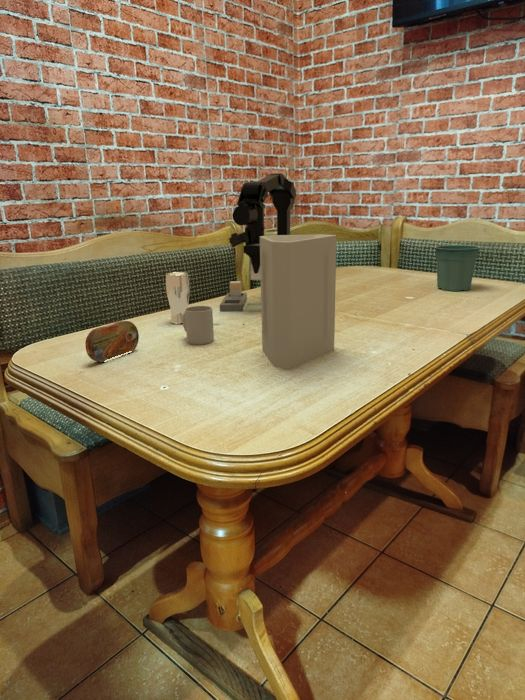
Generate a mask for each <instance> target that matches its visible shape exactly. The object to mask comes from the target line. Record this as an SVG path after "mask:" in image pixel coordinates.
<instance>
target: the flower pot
mask: <svg viewBox="0 0 525 700" xmlns="http://www.w3.org/2000/svg"><path fill="white" fill-rule="evenodd" d="M434 249H435V259H436V282H437V283H436V286H437V287H438V288H441V289H440V290H441V291H442V290H443V291H447V290H449V291H448V292H461V291H469V290H470V289H471V287H472V282H473V277H474V271H475V268H476V267H475V266H476V260H477V258H478V254H479V250H480V249H481V246H478V245H470V244H469V245H468V244H466V245H465V244H444V245H437V246H434ZM438 288H437V289H438Z"/></svg>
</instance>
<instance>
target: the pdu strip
mask: <svg viewBox="0 0 525 700" xmlns="http://www.w3.org/2000/svg"><path fill="white" fill-rule="evenodd" d="M247 299H248V293H247V292H242V281H239V280H235V281H232V280H231V281H230V282H229V292H227V293H226V294H225V296H224V298H223V299H222V301H221V302H220V304H219V312H222V313H224V312H228V313H229V312H230V313H231V312H232V313H233V312H237V313H238V312H239V313H240V312H243V307H244V305H245V303H247V302H246V301H247Z"/></svg>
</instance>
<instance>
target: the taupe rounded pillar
mask: <svg viewBox="0 0 525 700" xmlns="http://www.w3.org/2000/svg"><path fill="white" fill-rule="evenodd" d="M337 237H338V236H337V235H336V234H323V233H321V234H319V233H318V234H290V235H277V234H276V235H272V234H271V235H264V236H260V272H261V279H260V303H261V311H260V312H261V342H262V343H261V347H262V349H261V351H262V352H263V354H264V355H265V356H266V357H267V359H268V361H269V362H270V364H271V365H272V366H273V367H275V368H277V369H282V370H285V371H292V370H294V369H296V368H299V367H302V366H303V365H305V364H307V363H310V362H312V361H314V360H316V359H318V358H321V357H322V356H324V355H327V354H329V353H331V352H333V351H335V328H336V326H335V324H336V323H335V322H336V284H337V283H336V282H337V281H336V279H337V277H336V276H337V271H336V270H337Z"/></svg>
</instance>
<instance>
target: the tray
mask: <svg viewBox="0 0 525 700" xmlns="http://www.w3.org/2000/svg"><path fill="white" fill-rule="evenodd" d="M242 312H261V302H245V304H244V307H243V309H242Z"/></svg>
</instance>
